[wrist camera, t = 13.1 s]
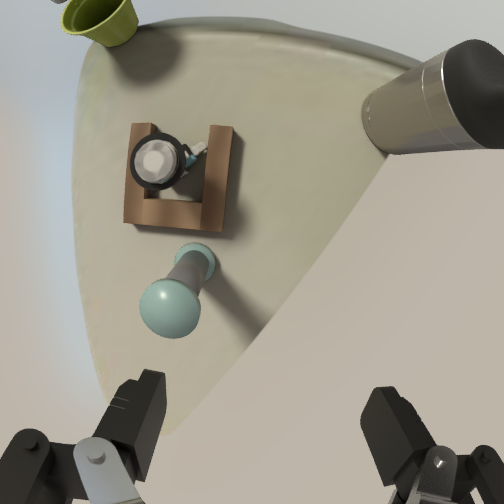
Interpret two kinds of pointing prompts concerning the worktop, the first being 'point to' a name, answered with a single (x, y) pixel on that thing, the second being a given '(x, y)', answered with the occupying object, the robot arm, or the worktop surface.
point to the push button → (161, 161)
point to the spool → (178, 293)
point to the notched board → (180, 211)
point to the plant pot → (100, 20)
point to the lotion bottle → (59, 1)
